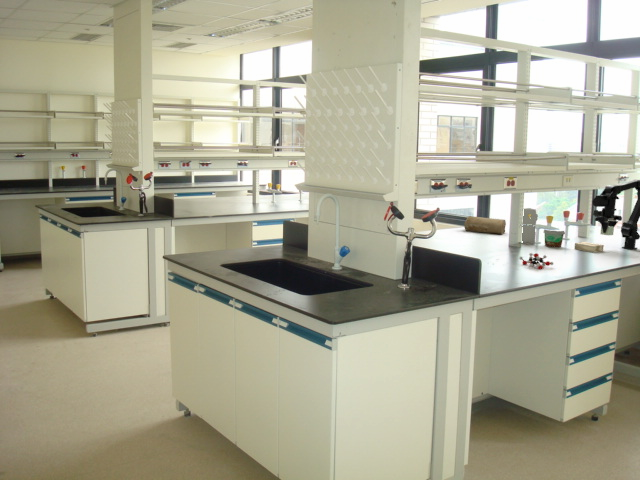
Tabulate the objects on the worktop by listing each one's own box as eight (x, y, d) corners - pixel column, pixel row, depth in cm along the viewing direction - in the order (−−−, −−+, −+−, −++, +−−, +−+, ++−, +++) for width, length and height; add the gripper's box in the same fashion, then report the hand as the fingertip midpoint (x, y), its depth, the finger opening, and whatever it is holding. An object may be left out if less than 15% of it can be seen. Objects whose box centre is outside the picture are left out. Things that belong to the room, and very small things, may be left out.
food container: (540, 246, 368) (542, 230, 367) (542, 244, 374) (543, 228, 372) (562, 248, 363) (564, 231, 361) (563, 247, 368) (565, 230, 366)
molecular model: (545, 263, 315) (559, 263, 300) (525, 276, 314) (539, 276, 299) (535, 246, 315) (549, 245, 300) (515, 259, 314) (528, 258, 299)
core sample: (502, 235, 409) (503, 220, 407) (463, 231, 422) (464, 217, 421) (507, 232, 421) (508, 218, 419) (469, 229, 434) (470, 215, 432)
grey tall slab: (535, 243, 377) (539, 208, 374) (534, 244, 374) (537, 209, 370) (518, 242, 382) (521, 207, 379) (516, 242, 379) (519, 207, 375)
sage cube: (605, 233, 366) (606, 225, 365) (613, 234, 362) (614, 226, 361) (600, 234, 363) (601, 225, 362) (608, 235, 359) (609, 227, 358)
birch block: (584, 248, 368) (585, 241, 367) (603, 251, 358) (603, 244, 357) (574, 249, 362) (575, 243, 362) (593, 253, 353) (593, 246, 352)
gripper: (606, 204, 372) (603, 230, 374) (587, 205, 361) (585, 231, 364) (623, 206, 362) (620, 232, 365) (605, 207, 352) (602, 234, 355)
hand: (606, 232), depth 362 cm, fingers closed on sage cube, 5 cm apart
